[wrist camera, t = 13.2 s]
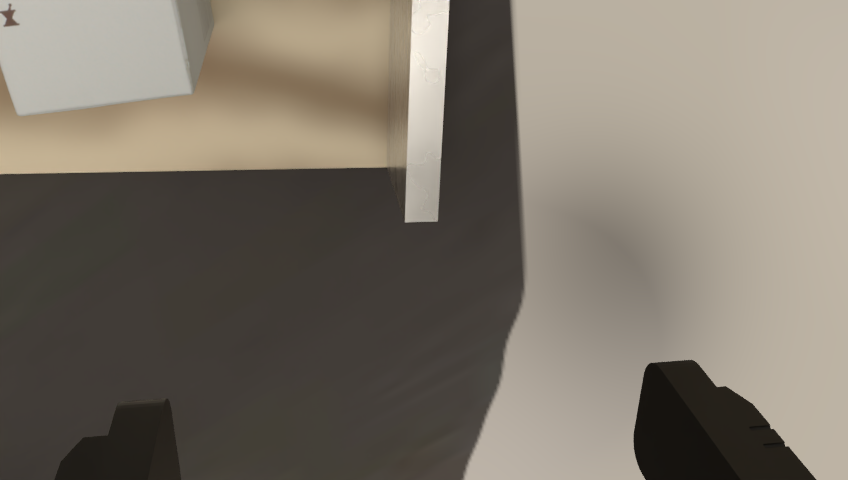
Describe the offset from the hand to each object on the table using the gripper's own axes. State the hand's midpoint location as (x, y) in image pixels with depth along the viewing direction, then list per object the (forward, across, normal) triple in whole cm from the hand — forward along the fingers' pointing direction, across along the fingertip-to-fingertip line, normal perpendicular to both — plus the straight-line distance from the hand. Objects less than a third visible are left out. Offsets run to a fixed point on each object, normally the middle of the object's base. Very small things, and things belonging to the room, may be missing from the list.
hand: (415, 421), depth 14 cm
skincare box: (+29, +8, -3) cm, 30 cm away
